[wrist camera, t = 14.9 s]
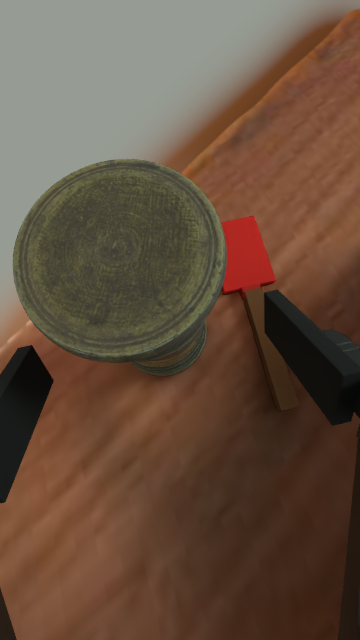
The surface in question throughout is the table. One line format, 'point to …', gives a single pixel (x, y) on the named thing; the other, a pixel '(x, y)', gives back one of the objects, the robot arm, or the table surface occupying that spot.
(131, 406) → the table surface
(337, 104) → the table surface
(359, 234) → the table surface
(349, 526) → the robot arm
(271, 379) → the red spatula
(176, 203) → the container
